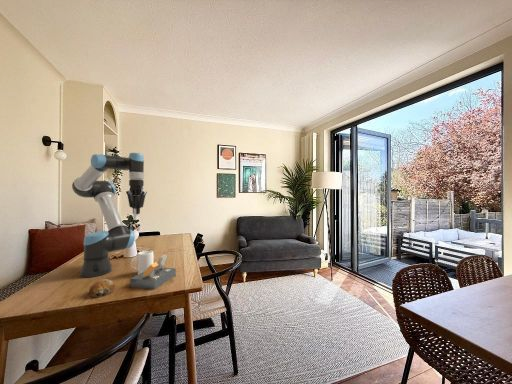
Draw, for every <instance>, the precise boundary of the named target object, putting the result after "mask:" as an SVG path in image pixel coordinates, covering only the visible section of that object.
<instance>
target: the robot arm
mask: <svg viewBox="0 0 512 384" xmlns="http://www.w3.org/2000/svg"><path fill="white" fill-rule="evenodd" d="M144 163H145V160H144V154H143V153H140V152H130V153H129V155H128V157H123V156H116V155H114V156H113V155H107V154H101V153H100V154H98V153H94V154H92V155H91V158H90V165H89V166H88V168H87V169H86V170H85V171H84V172H83V173H82V175H81V176H79V177H77V178H76V179H75V180H73V182H72V185H71V187H72V191H73V192H74V193H75V194H76V196H79V197H81V198H93V199H94V202H96V203H98V205H99V208H100V210H101V214H102V216H103V218H104V222H105V224H106V227H107V228H108V230H102V231H101V230H99V231H95V232H91V233H88V234H86V235H85V236H84V238H83V263H82V266H81V269H80V271H79V276H80V277H81V278H93V277H99V276H104V275H107V274H110V272H112V269H113V267H112V266H113V265H112V264H111V260H110V258H109V253H112V252H116V251H121V250H126V249H129V248H131V247H133V245H134V243H135V237H136V236H135V235H136V234H135V233H134V230H132V229H129V228H128V226H127V225H125V224H124V223H123V221H122V218H121V216H120V214H119V213H120V212H119V211H118V207H117V205H116V203H115V200H114V198H115V195H116V191H117V189H116V186H115V185H114V183H113V181H109V180H98V179H100V177H102V176H103V174H104V173H105V172H106V171H108V170H120V171H128V176H129V180H128V186H129V190H127V191H125V192H126V193H125V194H126V195H127V200H128V207H129V208H132V214H133V220H134V221H137V220H140V214H141V209H142V208H143V207H144V204H145V199H146V195H147V193H148V192H147V191H146V190H144V188H143V187H144V185H145V184H144V182H145V180H144V176H145V175H144V166H145V165H144Z"/></svg>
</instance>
